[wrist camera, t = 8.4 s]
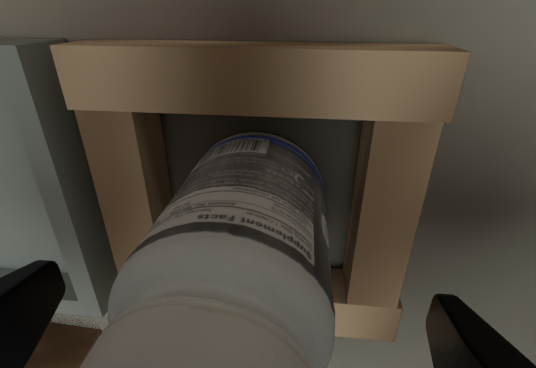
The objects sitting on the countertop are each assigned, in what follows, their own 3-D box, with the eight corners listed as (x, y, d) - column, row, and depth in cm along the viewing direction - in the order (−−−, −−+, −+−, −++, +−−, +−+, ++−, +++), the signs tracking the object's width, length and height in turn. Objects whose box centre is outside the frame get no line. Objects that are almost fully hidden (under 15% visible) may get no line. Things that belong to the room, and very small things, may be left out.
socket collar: (443, 43, 9) (470, 52, 8) (384, 303, 14) (394, 342, 13) (89, 39, 10) (49, 44, 9) (143, 283, 15) (124, 315, 14)
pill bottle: (295, 259, 14) (275, 563, 6) (182, 218, 13) (20, 488, 6) (348, 158, 11) (418, 448, 4) (214, 106, 11) (17, 315, 4)
